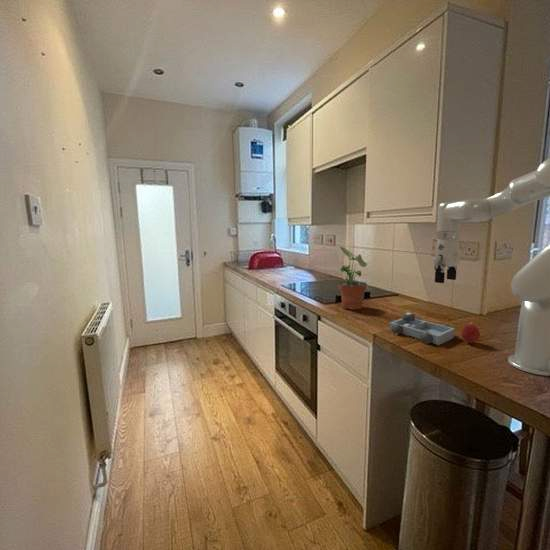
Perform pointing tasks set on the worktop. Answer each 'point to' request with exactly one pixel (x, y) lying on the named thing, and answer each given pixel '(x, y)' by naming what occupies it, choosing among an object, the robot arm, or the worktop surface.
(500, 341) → the worktop surface
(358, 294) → the potted plant
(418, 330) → the chassis
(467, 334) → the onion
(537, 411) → the worktop surface
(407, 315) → the spare wheel
